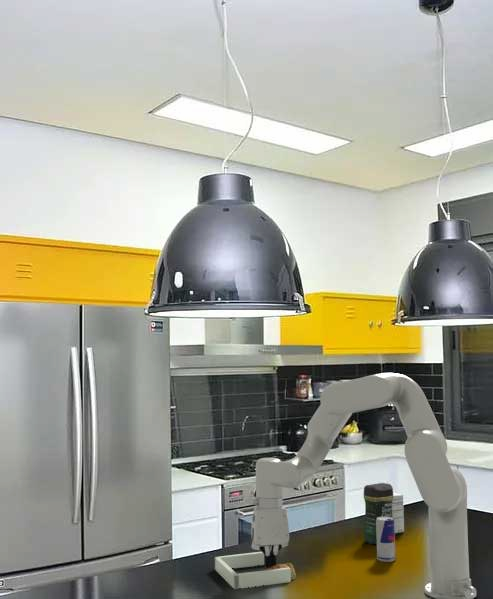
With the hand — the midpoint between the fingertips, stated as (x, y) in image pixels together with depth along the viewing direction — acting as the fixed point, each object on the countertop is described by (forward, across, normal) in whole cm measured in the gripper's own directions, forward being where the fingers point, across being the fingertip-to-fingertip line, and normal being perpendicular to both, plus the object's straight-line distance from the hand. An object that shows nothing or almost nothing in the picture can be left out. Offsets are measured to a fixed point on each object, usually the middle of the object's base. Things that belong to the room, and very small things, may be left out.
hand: (270, 568), depth 199 cm
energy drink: (+1, +36, -1) cm, 36 cm away
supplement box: (+1, +54, +28) cm, 61 cm away
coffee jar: (+1, +44, +17) cm, 47 cm away
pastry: (+2, +1, -5) cm, 5 cm away
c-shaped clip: (+1, -6, 0) cm, 6 cm away
